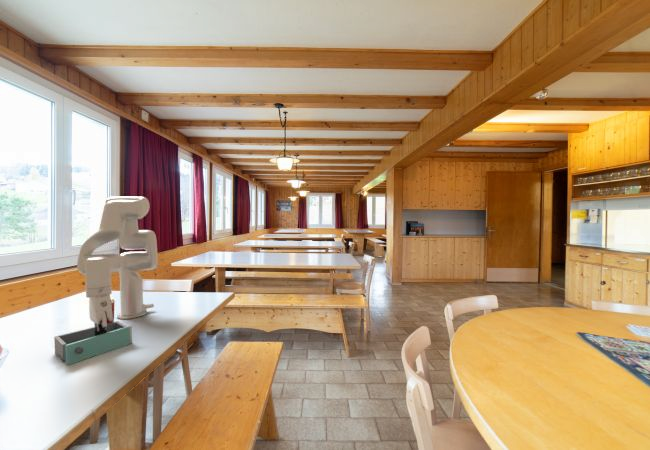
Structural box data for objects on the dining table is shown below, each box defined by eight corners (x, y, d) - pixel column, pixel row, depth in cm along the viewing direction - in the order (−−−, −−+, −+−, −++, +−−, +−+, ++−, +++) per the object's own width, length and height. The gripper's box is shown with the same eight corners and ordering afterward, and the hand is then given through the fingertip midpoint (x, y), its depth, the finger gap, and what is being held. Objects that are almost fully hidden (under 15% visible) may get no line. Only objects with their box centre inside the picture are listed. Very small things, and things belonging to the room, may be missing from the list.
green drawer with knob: (131, 341, 120) (130, 325, 119) (135, 343, 118) (134, 326, 118) (65, 364, 102) (65, 344, 102) (69, 366, 100) (68, 346, 100)
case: (118, 335, 127) (117, 321, 127) (129, 342, 119) (128, 327, 119) (55, 352, 111) (54, 336, 111) (63, 362, 104) (62, 344, 104)
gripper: (118, 292, 110) (120, 342, 111) (104, 286, 119) (106, 332, 120) (92, 296, 104) (94, 349, 105) (80, 290, 114) (82, 338, 114)
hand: (101, 340), depth 113 cm, fingers closed
